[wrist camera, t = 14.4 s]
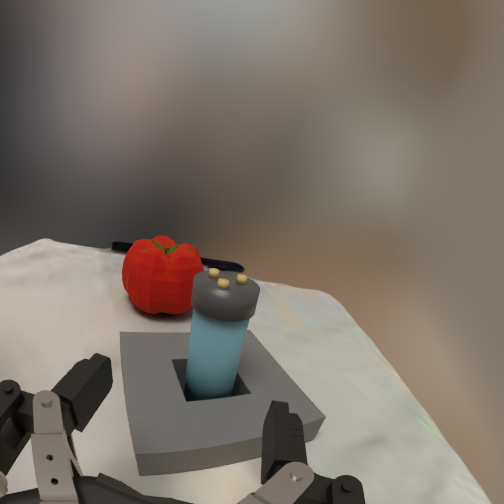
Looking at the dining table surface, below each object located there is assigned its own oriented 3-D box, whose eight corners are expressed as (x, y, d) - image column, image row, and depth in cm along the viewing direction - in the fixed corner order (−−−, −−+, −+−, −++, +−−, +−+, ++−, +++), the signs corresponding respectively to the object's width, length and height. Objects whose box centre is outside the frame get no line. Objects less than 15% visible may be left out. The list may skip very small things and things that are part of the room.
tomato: (207, 328, 39) (218, 260, 37) (116, 322, 35) (118, 250, 32) (194, 291, 52) (202, 237, 49) (124, 285, 47) (128, 228, 45)
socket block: (139, 475, 14) (135, 453, 13) (120, 356, 28) (119, 331, 27) (313, 439, 22) (325, 416, 21) (244, 352, 35) (250, 330, 35)
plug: (188, 422, 21) (206, 288, 18) (175, 386, 26) (188, 262, 23) (240, 415, 24) (273, 289, 21) (221, 382, 28) (245, 265, 25)
